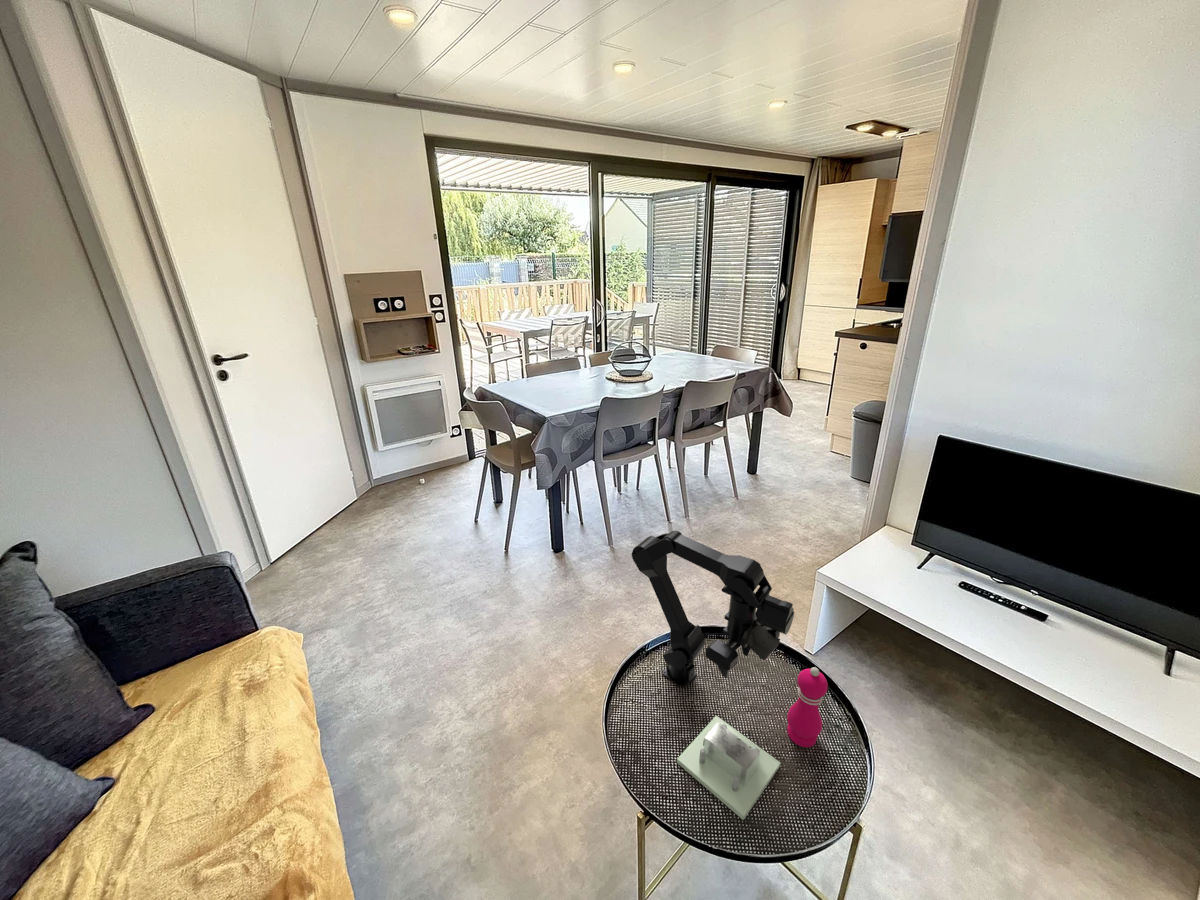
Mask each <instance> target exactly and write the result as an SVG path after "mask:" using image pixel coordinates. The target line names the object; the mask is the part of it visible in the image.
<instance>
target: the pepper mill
mask: <svg viewBox="0 0 1200 900" xmlns="http://www.w3.org/2000/svg"><path fill="white" fill-rule="evenodd" d="M796 680H797V685H798V686H797V687H798V688H797V696H798V698H797V701H795V703H793V704H792V705H791V706H790V708H789V709H788V712H787V715H786V716H787V718H786V720H787V728H786V732H787V735H788V737H789V739H790V740H791V741H792V742H793V743H794V744H796V745H797V746H799V747H802V748H811V747H813V746H815V744H816V743H817V738H818V736H819V735H820V734H821V733H822V729H823V720H822V716H821V713H820V712H819V705H820V704H822V702H823V698H824V696H825V695H826V694H827V692H828V687H829V684H828V681H827V679H826V677H825V676H824V674H823V673H822V672H820V669H818V668H817V667H816V666H814V667H811V668H809V667H808V668H805V669H802V670H801V671H800V673H798V675H797V679H796Z"/></svg>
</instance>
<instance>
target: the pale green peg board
mask: <svg viewBox="0 0 1200 900" xmlns="http://www.w3.org/2000/svg"><path fill="white" fill-rule="evenodd" d="M717 723H719V724H721V725H722V726H723V727H725V728H726V729H727V730H729V731H730V732H731V733H733V734H734V735H735V736H737V737H738V738H739V739H741V740H742V741H744V742H745V743H746V744H748V745H749V746H750V747H752V748H753V749H754V750H756V751H757V752H758V753H760V754H759V760H758V766H757V770H756V772H755V773H754V775H753V776H752V777H751V779H750V780H749V782H748V783H747V784H746V786H745V787H744V786H743V785H741V784H740V783H739V780H740V779H739V777H738V776H736V775H735V776H734V777H732V776H730V775H729V774H728V773H727V772H725V771H724V770H723V769H722V768H721V767H719V766H718V765H717V764H716V763H714V762H713V761H712V760H711V759H709V758H708V757H707V756H706V751H705V749H704V746H703V742H704V738H705V737H706V736H707V734H708V733H709V732H710V731H711V730H712V729H713V728H714V726H715V725H716V724H717ZM676 764H678V765H679V767H681V768H683V770H685V771H686V772H687V773H688V774H689V775H691V777H692V778H694V779H695V780H696V781H697V782H699V784H701V785H702V786H703V787H704V788H706V789H707V790H708V791H709V792H710V793H711V794H712V795H713V796H715V797H716V798H717V799H718V800H719V801H720V802H722V803H723V804H724V805H725V806H726V807H727V808H729V809H730V810H731V811H732V812H733V813H735V814H736V815H737V816H738V817H739V818H740V819H741V820H742V821H744V820H745V819H746V817H747V816H748V814H749V812H750V811H751V810H752V808H753V807H754V805H755V804H756V803H757V801H758V799H759V798H760V797H761V795H762V793H764V791H765V789H766V788H767V786H768V784H769V783H770V782H771V781H772V779H773V778H774V776H775V775H776V773H777V772H778V770H779V768H780V767H781V762H780V761H779V760H777V759H776V758H775V757H773V756H772V755H771V754H770V753H768V752H766V751H765V750H763V749H762V747H759V746H758V745H757V744H756V743H754V742H753V741H751V740H750V739H749V738H747V737H746V736H744V735H743V734H742V733H741V732H739V730H737V729H736V728H734V727H733V726H731V725H730V724H728V723H727V722H726V721H725V720H723V719H721V718H720V717H719V716H717V715H715V716H714V718H712V720H711V721H709V723H708V724H707V725H706V726H705V727H704V728H703V730H702V731H701V732H700V733H699V734H698V735H697V736H696V738H695V739H694V740H692V742H691V743H690V744H689V745H688V746H687V747H686V748H685V749H684V751H683V752H682V753H681V754H680V756H678V757H677V758H676Z"/></svg>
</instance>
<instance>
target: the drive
mask: <svg viewBox="0 0 1200 900" xmlns="http://www.w3.org/2000/svg"><path fill="white" fill-rule="evenodd" d="M703 746H704V749H705V751H706V756H707V757H708V758H709V759H711V760H712V761H713V762H714V763H716V764H717V765H718V766H719V767H721V768H722V769H723V770H724V771H725V772H727V773H728V774H729V775H730V776H732V777H734V776H735V775H736V776H738V777H739V779H740V780H739V783H740V784H741V785H743V786H744V787H745V786H746V784H747V783H748V782H749V780H750V779H751V777H752V776H753V775H754V773H755V772H756V770H757V766H758V760H759V754H760V753H758V752H757V751H756V750H754V749H753V748H752V747H750V746H749V745H748V744H746V743H745V742H744V741H742V740H741V739H739V738H738V737H737V736H735V735H734V734H733V733H731V732H730V731H729V730H727V729H726V728H725V727H723V726H722V725H721V724H719V723H717V724H716V725H715V726H714V728H713V729H712V730H711V731H710V732H709V733H708V734H707V736H706V737H705V738H704V742H703Z"/></svg>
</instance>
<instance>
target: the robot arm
mask: <svg viewBox="0 0 1200 900" xmlns="http://www.w3.org/2000/svg"><path fill="white" fill-rule="evenodd" d="M669 554H673V555H675V556H677V557H679V558H681V559H684V560H685V561H687V562H689V563H691V564H694V565H696V566H698V567H699V568H701V569H704V570H706V571H708V572H710V573H712V574H714V575H716V576H717V577H718V578H719V579H720V580H721V582H722V583H723V584H724V585H723V587H722V588H721V592H722V593H724V594H726V595H729V596H730V598H729V608H728V611H727V613H725V615H724V617H723V619H724V620H726V621H727V623H726V626H725V627H723V629H722V633H723V634H724V635H726V636H727V638H728V641H727V642H726V643H725V642H723V641H721V640H720V639H714V640H713V641H711V642H710V643H709V645H707V647H705V645H706V641H705V640H706V639H707V638H706V636H705V635H704V633H703V632H702V628H701V626H700V625H699V624H697V625H695V624H694V623H692V622H691V621H689V620H688V617H687V614H686V612H685V609H684V607H683V605H682V603H681V601H680V598H679V596H678V594H677V591H676V588H675V586H674V584H673V581H672V579H671V577H670V574H669V572H668V569H667V568H668V555H669ZM631 559H632V560H633V562H634V563H635V566H636V567H637V568H638V569H637V570H639V572H640V573H642V574H643V575H644V576H646V577H647V578H648V579H649V581H650V584H651V586H652V590H653V591H654V593H655V596H656V598H657V600H658V604H660V605H659V606H660V607H661V609H662V612H663V614H664V617H665V619H666V622H667V624H668V626H669V629H670V630H669V631H670V632H669V633H670V635H669V639H670V640H669V643H670V646H669V647H668V649H667V650H666V651H665V652H664V653H663V654H662V656H663V660H664V663H666V669H664V671H662V675H663V676H664V677H665V678H667V679H669V680H670V681H671V682H672V683H674V685H677V686H678V687H679V688H680V689H681V688H684V687H686V685H687V684H689V683H690V682H691V681H692V680H694V679H695V677H696V676H697V671H696V666H695V660H696V659H697V657H698V656H699V655H700V653H701V652H702V650H703V649H704V647H705V658H707V659H708V660H710V661H711V662H713V663H714V664H716V665H717V668H718V669H719V672H720V674H721V676H723V678H725V679H727V678H728V677H729V674H730V672H731V670H732V669H733V668H734V667H735V666H736V665H737V664H738V663H739V662H738V661H739V653H738V650H739V649H740V648H741V650H742V654H743V656H745V657H748V656H749V654H750V652H751V651H752V652H754V653H755V654H756V655H757V656H758V658H759V659H760V660H762V661H766V660H768V658H769V657H770V656H771V654H773V652H774V651H775V649H777V647H778V646H779V645H780V643H781V638H780V636H781V634H783V635H787V634H788V633H789V631H790V629H791V627H792V624H793V621H794V616H795V611H794V609H795V608H794V607H793V606H794V604H793V603H792V602H790V601H787V600H782V599H780V598H777V597H774V596H772V595H770V593H771V591H772V590H773V587H772V586H771V584H770V582H769V580H768V578H767V577H766V575H765V573H764V570H763V567H762V566H761V563H760V562H759V561H757V560H755V559H753V558H750V557H745V556H743V555H735V554H734V555H733V554H732V555H731V554H730V555H729V554H726V553H722V552H721V551H719V550H716V549H714V548H712V547H710V546H708V545H705V544H704V543H700V542H699V541H697V540H694V539H692V538H690V537H688V536H686V535H684V534H682V532H680V531H679V530H671V531H669V532H667V533H662V534H660V535H658V536H653V535H650V536H647V537H646V538H644V540H642V541H641V542H640V543H638V544H637V545H636V546H634V547H633V549H632V552H631ZM758 586H759V587H758ZM757 587H758V588H757ZM756 589H757V590H756ZM755 590H756V591H755Z"/></svg>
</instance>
